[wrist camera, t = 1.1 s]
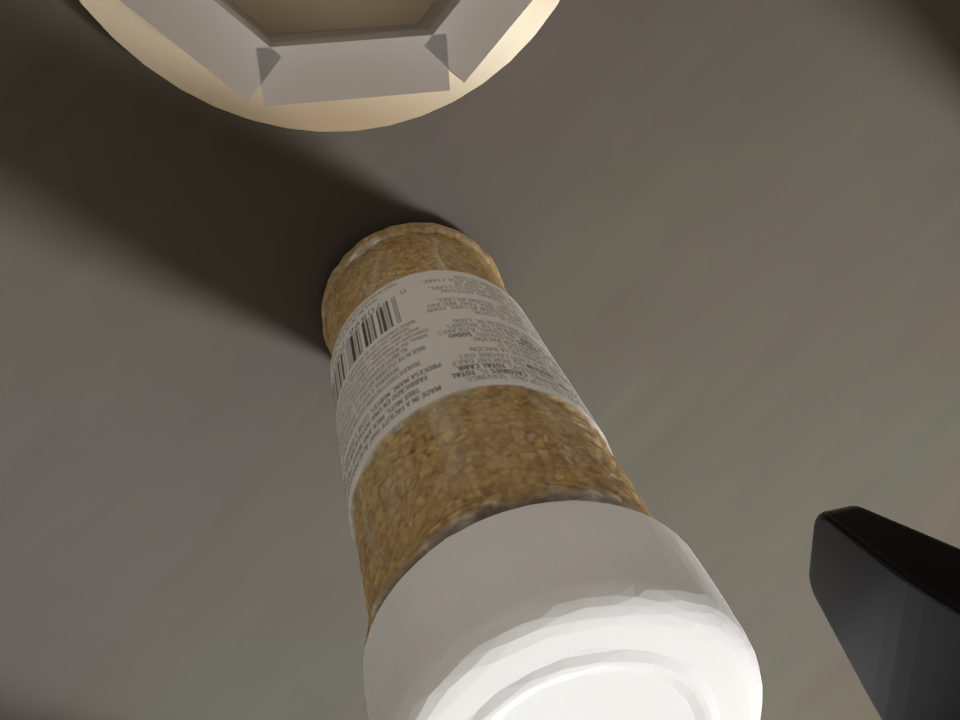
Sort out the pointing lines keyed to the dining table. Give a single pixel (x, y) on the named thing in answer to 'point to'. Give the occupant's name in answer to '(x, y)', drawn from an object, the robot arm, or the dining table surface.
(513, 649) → the sprinkles bottle
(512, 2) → the collar socket
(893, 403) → the dining table surface
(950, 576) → the robot arm
